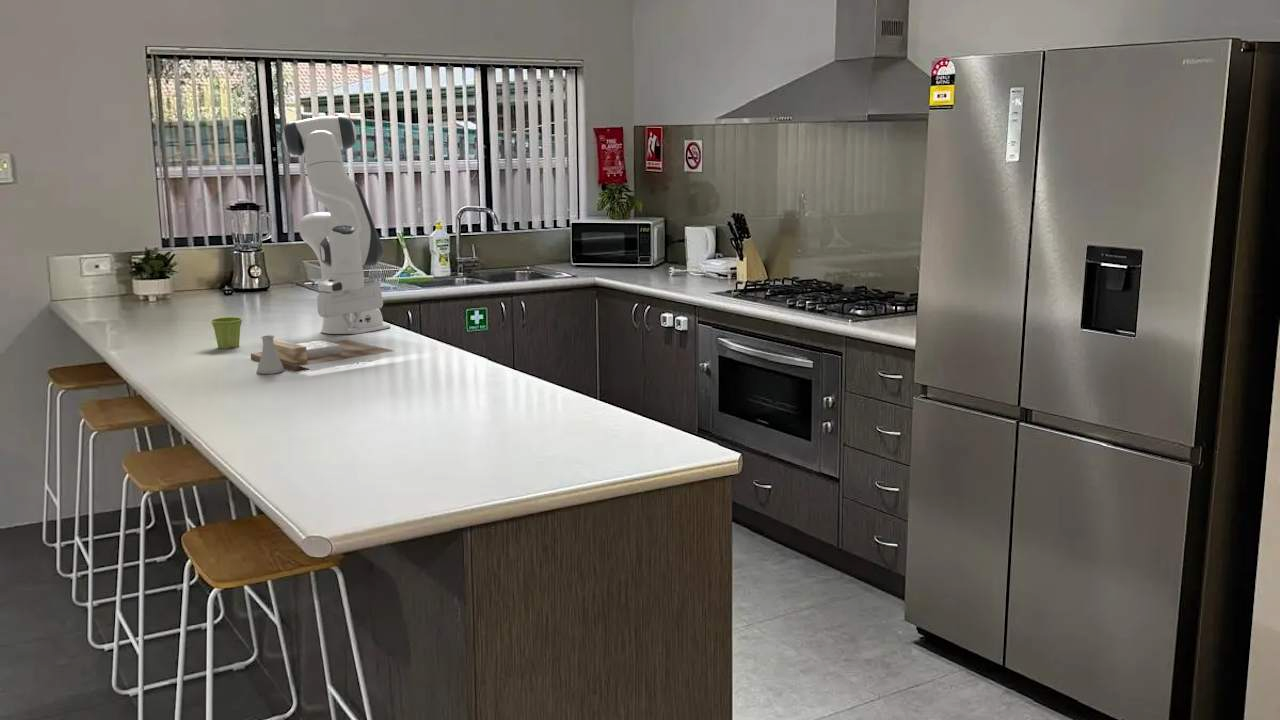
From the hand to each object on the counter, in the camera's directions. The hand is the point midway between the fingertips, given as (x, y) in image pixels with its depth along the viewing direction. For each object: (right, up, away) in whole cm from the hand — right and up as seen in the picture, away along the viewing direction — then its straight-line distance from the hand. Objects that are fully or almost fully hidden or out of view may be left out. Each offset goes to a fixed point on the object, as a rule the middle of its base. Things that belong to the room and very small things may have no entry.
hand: (353, 327), depth 342 cm
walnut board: (-7, -9, -7) cm, 13 cm away
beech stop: (-15, -9, -15) cm, 23 cm away
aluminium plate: (-10, -8, -10) cm, 16 cm away
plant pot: (-41, -6, +13) cm, 44 cm away
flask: (-16, -13, -27) cm, 34 cm away
